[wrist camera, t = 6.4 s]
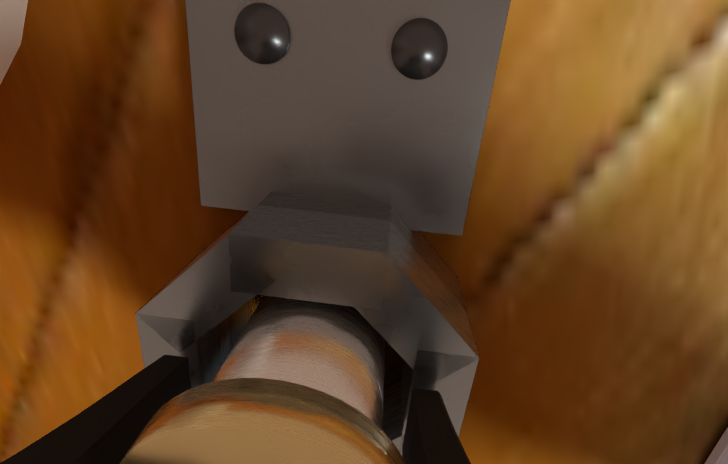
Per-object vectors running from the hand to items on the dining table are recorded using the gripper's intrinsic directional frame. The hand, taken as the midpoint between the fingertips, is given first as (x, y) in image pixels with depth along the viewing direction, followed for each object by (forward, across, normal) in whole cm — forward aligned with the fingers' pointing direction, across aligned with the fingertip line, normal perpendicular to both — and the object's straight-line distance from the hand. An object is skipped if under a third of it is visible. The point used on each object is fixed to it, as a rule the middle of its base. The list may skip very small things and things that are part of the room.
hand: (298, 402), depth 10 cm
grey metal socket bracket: (+4, 0, 0) cm, 4 cm away
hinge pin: (+5, 0, 0) cm, 5 cm away
